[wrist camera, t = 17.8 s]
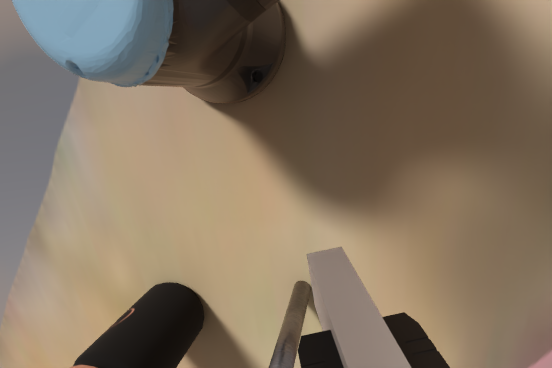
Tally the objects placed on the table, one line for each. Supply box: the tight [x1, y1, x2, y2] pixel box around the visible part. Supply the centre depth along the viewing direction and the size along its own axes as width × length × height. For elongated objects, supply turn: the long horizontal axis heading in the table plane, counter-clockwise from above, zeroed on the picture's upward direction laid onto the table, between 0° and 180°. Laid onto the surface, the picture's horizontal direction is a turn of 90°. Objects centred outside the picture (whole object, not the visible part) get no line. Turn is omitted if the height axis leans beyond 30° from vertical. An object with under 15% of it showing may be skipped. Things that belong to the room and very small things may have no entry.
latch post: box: [269, 281, 311, 368], centre depth 36 cm, size 2×2×19 cm
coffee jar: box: [70, 282, 204, 368], centre depth 43 cm, size 11×11×18 cm
